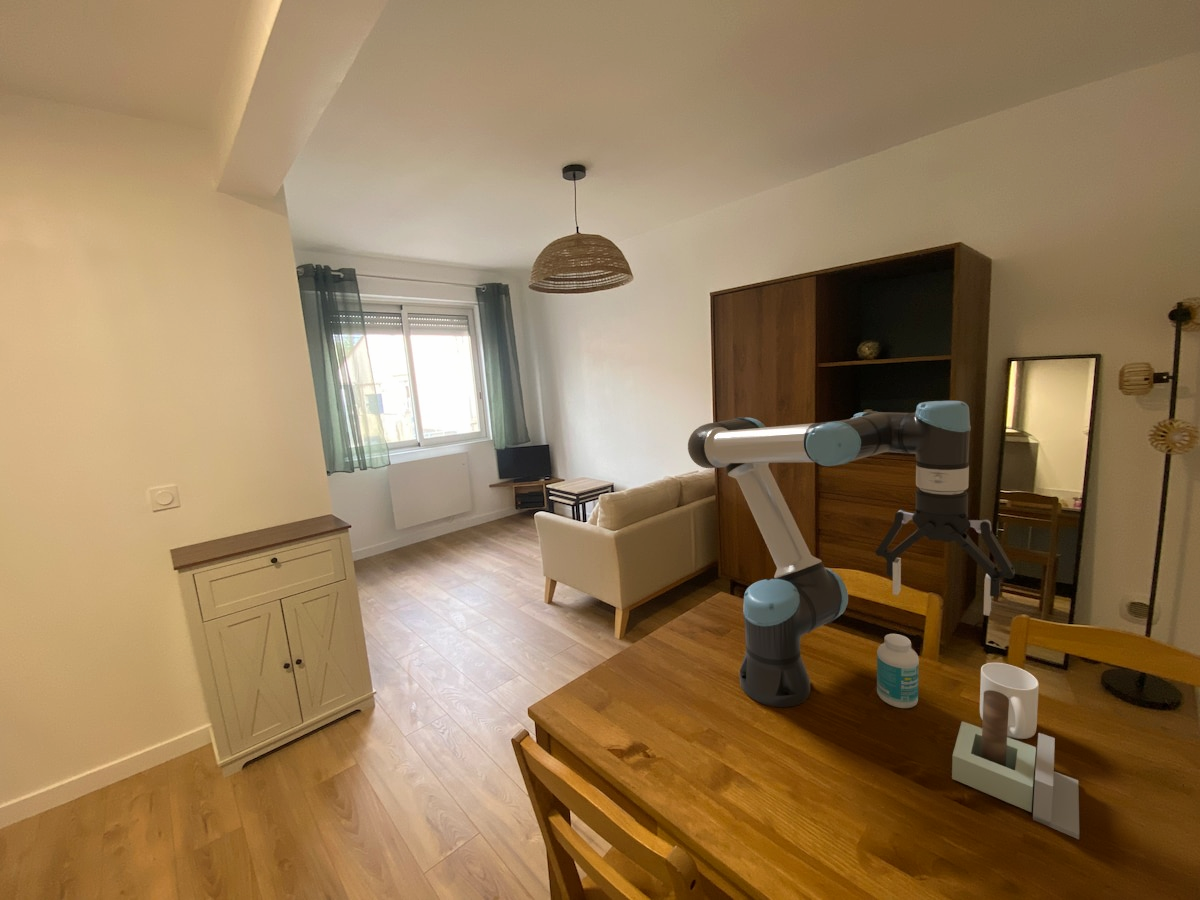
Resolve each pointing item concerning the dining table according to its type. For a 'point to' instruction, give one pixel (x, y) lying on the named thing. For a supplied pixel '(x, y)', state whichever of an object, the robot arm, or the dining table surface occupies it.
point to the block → (995, 768)
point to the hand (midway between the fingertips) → (939, 601)
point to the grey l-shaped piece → (1054, 792)
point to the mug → (1013, 696)
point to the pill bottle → (897, 672)
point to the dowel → (995, 727)
